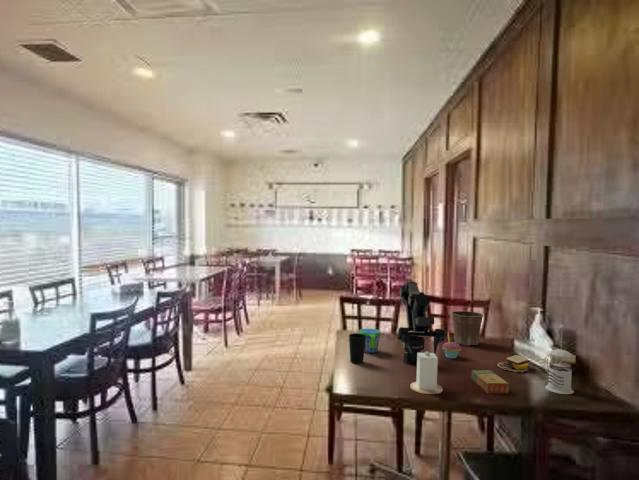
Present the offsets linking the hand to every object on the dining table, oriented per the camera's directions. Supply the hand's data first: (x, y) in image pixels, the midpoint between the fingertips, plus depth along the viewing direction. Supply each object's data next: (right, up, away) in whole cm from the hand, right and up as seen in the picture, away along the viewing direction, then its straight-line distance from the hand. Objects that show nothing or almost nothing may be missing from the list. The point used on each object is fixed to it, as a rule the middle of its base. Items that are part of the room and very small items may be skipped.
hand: (423, 353), depth 177 cm
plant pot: (+38, -11, +63) cm, 75 cm away
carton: (+25, -13, -2) cm, 28 cm away
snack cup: (-17, -10, +42) cm, 47 cm away
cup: (-24, -10, +24) cm, 36 cm away
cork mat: (-1, -11, -7) cm, 14 cm away
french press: (+51, -13, -3) cm, 52 cm away
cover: (-1, -11, -7) cm, 13 cm away
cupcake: (+22, -11, +36) cm, 44 cm away
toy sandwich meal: (+44, -12, +22) cm, 51 cm away
